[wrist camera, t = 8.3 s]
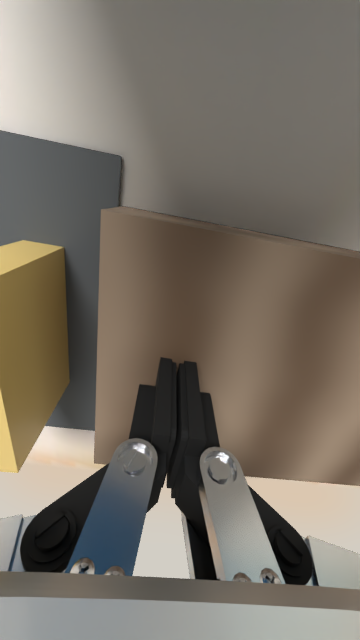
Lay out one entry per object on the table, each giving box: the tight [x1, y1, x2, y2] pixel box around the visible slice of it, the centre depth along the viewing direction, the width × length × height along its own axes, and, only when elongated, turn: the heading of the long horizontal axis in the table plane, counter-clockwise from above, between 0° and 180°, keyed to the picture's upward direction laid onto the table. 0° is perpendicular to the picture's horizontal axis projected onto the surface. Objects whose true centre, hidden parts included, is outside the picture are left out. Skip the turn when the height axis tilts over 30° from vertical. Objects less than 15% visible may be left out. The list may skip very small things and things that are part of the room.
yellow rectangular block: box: [0, 240, 70, 473], centre depth 11 cm, size 6×9×2 cm
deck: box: [94, 206, 360, 486], centre depth 14 cm, size 20×14×4 cm
